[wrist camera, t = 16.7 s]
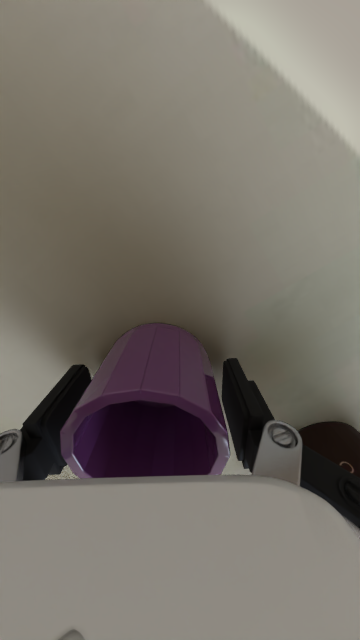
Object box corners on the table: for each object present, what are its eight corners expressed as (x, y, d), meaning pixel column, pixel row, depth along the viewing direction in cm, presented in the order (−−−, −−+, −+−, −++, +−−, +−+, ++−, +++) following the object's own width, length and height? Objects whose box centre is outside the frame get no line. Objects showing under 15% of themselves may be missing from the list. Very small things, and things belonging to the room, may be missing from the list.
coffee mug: (355, 392, 13) (743, 731, 4) (388, 455, 16) (667, 744, 7) (217, 457, 16) (267, 745, 7) (264, 500, 19) (345, 750, 10)
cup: (87, 355, 12) (21, 438, 7) (173, 302, 11) (168, 358, 6) (148, 418, 14) (132, 515, 9) (226, 380, 13) (257, 470, 8)
